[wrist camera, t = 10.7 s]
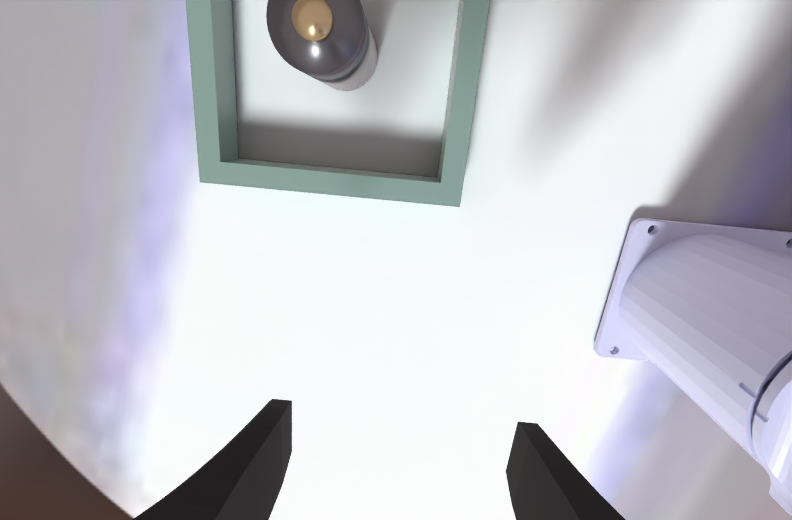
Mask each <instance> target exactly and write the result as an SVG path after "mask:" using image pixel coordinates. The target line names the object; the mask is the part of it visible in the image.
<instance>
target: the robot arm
mask: <svg viewBox="0 0 792 520" xmlns="http://www.w3.org/2000/svg"><path fill="white" fill-rule="evenodd" d="M652 225H654V229H653V231H652V232H650V233H648V229H649V227H650V226H652ZM788 240H790V242H789V243H788V244H787V245H786V243H787V242H788ZM612 347H615V349H614V350H612V351H610V349H611V348H612ZM594 351H595V352H596V353H597V354H598V355H599V356H601V357H609V358H619V359H630V360H641V361H651V362H654V363H655V364H656V365H657V366H658V367H659V368H660V369H661V370H662V371H663V372H664V373H665V374H666V375H667V376H668V377H669V378H670V379H671V380H672V381H673V382H675V383H676V384H677V385H678V386H679V387H680V388H681V389H682V390H683V391H684V392H685V393H686V394H687V395H688V396H689V397H690V398H691V399H692V400H693V401H694V402H695V403H697V404H698V405H699V406H700V407H701V408H702V409H703V410H704V411H705V412H706V413H707V414H708V415H709V416H710V417H711V418H712V419H713V420H714V421H715V422H716V423H717V424H719V425H720V426H721V427H722V428H723V429H724V430H725V431H726V432H727V433H728V434H729V435H730V436H731V437H732V438H733V439H734V440H735V441H736V442H737V443H738V444H739V445H741V446H742V447H743V448H744V449H745V450H746V451H747V452H748V453H749V454H750V455H751V456H752V457H753V458H754V459H755V460H756V461H757V462H758V463H759V464H760V465H762V466H763V467H764V468H765V469H766V471H767V472H768V474H769V476H770V479H771V487H770V491H769V494H770V495H771V496H772V497H773V498H774V499H775V500H776V501H777V502H778V503H779V504H780V505H781V506H782V507H783V509H784V510H785V511H786V512H787V513H788V514H789V515H790V516H791V517H792V232H785V231H775V230H764V229H754V228H743V227H733V226H722V225H712V224H701V223H691V222H680V221H670V220H659V219H649V218H638V219H636V220H634V221H633V222H632V223H631V225H630V227H629V230H628V234H627V237H626V240H625V244H624V247H623V250H622V254H621V257H620V260H619V264H618V267H617V270H616V273H615V277H614V280H613V283H612V287H611V290H610V293H609V297H608V300H607V303H606V307H605V310H604V313H603V317H602V320H601V323H600V327H599V330H598V333H597V337H596V340H595V343H594ZM291 452H292V401H288V400H278V399H272V400H271V401H269V402H268V403H267V404H266V406H265V407H264V408H263V409H262V410H261V411H260V412H259V413H258V414H257V415H256V416H255V417H254V418H253V419H252V420H251V421H250V422H249V423H248V424H247V425H246V426H245V427H244V428H243V429H242V430H241V431H240V432H239V433H238V434H237V435H236V436H235V437H234V438H233V439H232V440H231V441H230V442H229V443H228V444H227V445H226V446H225V447H224V448H223V449H222V450H221V451H219V452H218V453H217V454H216V455H215V456H214V457H213V458H212V459H210V460H209V461H208V462H207V463H206V464H205V465H204V466H202V467H201V468H200V469H199V470H198V471H197V472H196V473H194V474H193V475H192V476H191V477H189V478H188V479H187V480H186V481H185V482H183V483H182V484H181V485H180V486H178V487H177V488H176V489H174V490H173V491H172V492H170V493H169V494H168V495H167V496H165V497H164V498H163V499H161V500H160V501H159V502H157V503H156V504H154V505H153V506H151V507H150V508H149V509H147V510H146V511H144V512H143V513H142V514H140V515H139V516H137V517H136V518H134V519H133V520H268V519H269V517H270V514H271V512H272V509H273V507H274V504H275V502H276V499H277V497H278V494H279V492H280V489H281V487H282V484H283V480H284V477H285V473H286V470H287V466H288V463H289V459H290V456H291ZM506 474H507V480H508V486H509V491H510V496H511V501H512V506H513V510H514V513H515V517H516V520H625V519H624V518H623V517H622V516H621V515H620V514H619V513H618V512H617V511H616V510H615V509H614V508H613V507H612V506H611V505H610V504H609V503H608V502H607V501H606V500H605V499H604V498H603V497H602V496H601V495H600V494H599V493H598V492H597V491H596V490H595V488H594V487H593V486H592V485H591V484H590V483H589V482H588V481H587V480H586V479H585V478H584V477H583V476H582V474H581V473H580V472H579V471H578V470H577V469H576V468H575V467H574V466H573V464H572V463H571V462H570V461H569V460H568V459H567V458H566V456H565V455H564V454H563V453H562V452H561V451H560V449H559V448H558V447H557V446H556V445H555V444H554V442H553V441H552V440H551V439H550V438H549V437H548V435H547V434H546V433H545V432H544V431H543V430H542V429H541V427H540V426H539V425H538V424H536V423H525V422H518V424H517V428H516V432H515V436H514V440H513V444H512V448H511V453H510V457H509V461H508V465H507V469H506Z"/></svg>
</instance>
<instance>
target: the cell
mask: <svg viewBox="0 0 792 520" xmlns="http://www.w3.org/2000/svg"><path fill="white" fill-rule="evenodd" d="M267 26H268V31H269V34H270V37H271V40H272V42H273V44H274V46H275V48H276V50H277V51H278V53H279V54H280V55H281V56H282V57H283V59H284V60H285V61H286V62H288V63H289V64H290V65H291V66H293V67H294V68H296V69H298V70H300V71H302V72H304V73H306V74H307V75H309V76H311V77H313V78H315V79H317V80H319V81H321V82H323V83H325V84H327V85H329V86H330V87H332V88H334V89H337V90H342V91H350V90H355V89H357V88H359V87H361V86H363V85H364V84H365V83H366V82H367V81H368V80H369V79H370V78H371V76H372V74H373V73H374V70H375V67H376V64H377V48H376V44H375V41H374V38H373V35H372V33H371V30H370V27H369V25H368V22H367V19H366V17H365V14H364V11H363V9H362V6H361V3H360V1H359V0H268V5H267Z"/></svg>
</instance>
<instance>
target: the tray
mask: <svg viewBox="0 0 792 520" xmlns="http://www.w3.org/2000/svg"><path fill="white" fill-rule="evenodd" d="M489 4H490V0H460V1H459V9H458V18H457V26H456V34H455V42H454V50H453V58H452V66H451V74H450V82H449V90H448V98H447V106H446V114H445V122H444V130H443V138H442V146H441V154H440V162H439V170H438V178H437V177H427V176H416V175H406V174H396V173H385V172H375V171H364V170H354V169H343V168H333V167H322V166H312V165H301V164H291V163H280V162H270V161H259V160H249V159H239V154H238V131H237V108H236V86H235V63H234V40H233V18H232V0H186V11H187V24H188V36H189V49H190V62H191V75H192V88H193V100H194V113H195V126H196V139H197V151H198V164H199V177H200V182H203V183H214V184H224V185H235V186H245V187H256V188H266V189H277V190H287V191H298V192H308V193H319V194H329V195H340V196H350V197H361V198H371V199H382V200H392V201H403V202H413V203H424V204H434V205H445V206H455V207H460V201H461V195H462V188H463V181H464V174H465V167H466V161H467V154H468V147H469V140H470V133H471V127H472V120H473V113H474V106H475V100H476V93H477V86H478V79H479V72H480V66H481V59H482V52H483V45H484V38H485V32H486V25H487V18H488V11H489Z"/></svg>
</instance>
